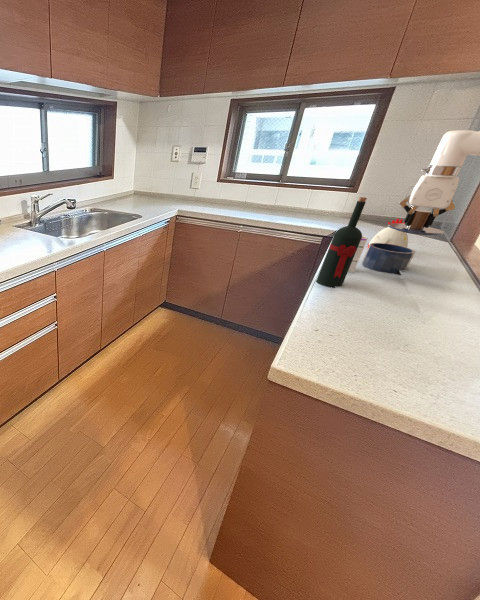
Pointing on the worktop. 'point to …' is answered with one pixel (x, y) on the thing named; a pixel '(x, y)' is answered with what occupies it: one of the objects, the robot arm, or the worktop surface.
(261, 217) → the worktop surface
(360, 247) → the syrup box
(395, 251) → the pot
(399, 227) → the lid
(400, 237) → the chicken figurine
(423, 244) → the worktop surface
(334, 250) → the wine bottle
